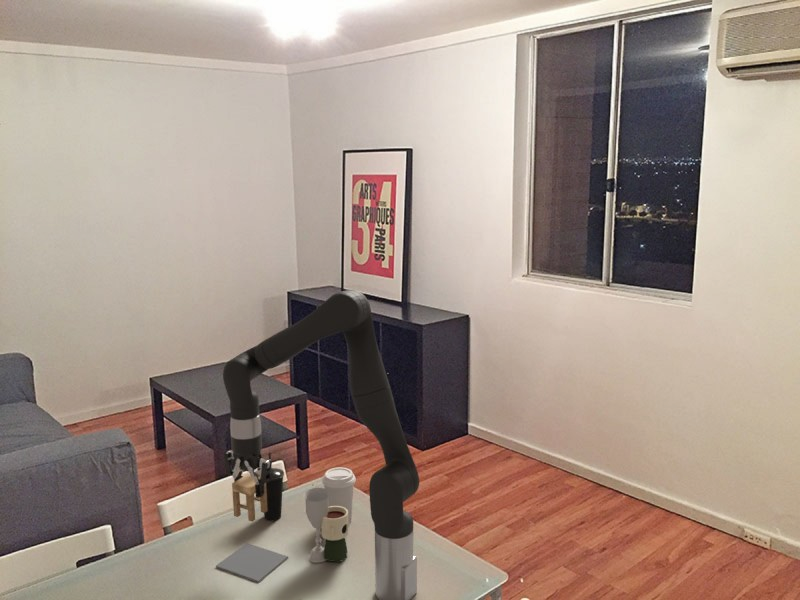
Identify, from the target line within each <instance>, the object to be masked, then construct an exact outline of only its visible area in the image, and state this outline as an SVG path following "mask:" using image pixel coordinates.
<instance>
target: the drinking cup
mask: <svg viewBox="0 0 800 600" xmlns="http://www.w3.org/2000/svg"><path fill="white" fill-rule="evenodd" d="M268 459H271V460H272V453H271V452H269V453H268ZM257 476H258V477H259V475H257ZM284 476H285V472H284V470H282V469H281V468H277V467H271V479H270V480H269V481H268V482H266V490H267V510H268V511H267V512H265V513H263V516H264V519H265V520H266V521H269V522H274V521H278V520H279V519H281V518H282V508H283V506H282V505H283V485H284V484H283V482H284Z"/></svg>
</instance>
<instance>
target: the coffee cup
mask: <svg viewBox="0 0 800 600" xmlns="http://www.w3.org/2000/svg"><path fill="white" fill-rule="evenodd" d="M356 480H357V478H356V476H355V474H354V473H353V470H352V469H349V468H347V467H331V468H329V469H328V470H326V471H325V473H324V475H323V476H322V480H321V482H322V484H323V485H324V488H325V489H327V490H328V491H329V492H330V495H329V497H328V506H329V507H330V506H341V507H344V508H346V509H347V510H348V525H350V524H351V523H352V515H353V503H354V502H353V500H354V486H355V482H356Z"/></svg>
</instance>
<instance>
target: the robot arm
mask: <svg viewBox="0 0 800 600" xmlns="http://www.w3.org/2000/svg"><path fill="white" fill-rule="evenodd" d="M340 333H343V335H344V338H345V341H346V344H347V348H348V349H347V350H348V356H349V357H348V358H349V365H348V367H349V368H348V370H349V371H348V372H349V373H348V375H349V379H348V380H349V389H350V390H349V391H350V394H351V398H352V401H353V405H354V408H355V409H354V410H355V412H356V414H357V417H358V418H359V420H360V422H362V424H363V425H364V426H365V427H366V429H368V431H369V432H370V433H372V435H373V436H374V437H375V438H376V440H377V441H378V443H379V445H380V447H381V450H382V453H383V457H384V461H385V466H383V467H381V468H379V469H378V470H377V471H375V472H374V473H373V474H372V475H371V477H370V481H369V505H370V506H369V507H370V515H371V516H370V517H371V519H372V522H373V525H374V568H375V569H374V571H375V573H374V575H375V581H374V582H375V596H376V598H377V600H411V599H412V598H413V597H414V596H415V594H417V592H418V558H417V556H416V555H414V518H413V516H412V514H411V513H409V512H408V511H406V510H404V503H405V502H406V501H407V500H408V499H410V498H412V497H413V496H414V495H415V494H416V493H417V491H418V490H419V487H420V477H419V472H418V469H417V466H416V464H415V463H416V462H415V460H414V458H413V456H412V453H411V451H410V448H409V445H408V443H407V440H406V438H405V434H404V432H403V428H402V425H401V422H400V419H399V418H400V417H399V415H398V412H397V408H396V404H395V399H394V396H393V393H392V392H393V391H392V389H391V385H390V382H389V378H388V376H387V372H386V369H385V365H384V362H383V358H382V355H381V352H380V350H379V346H378V342H377V337H376V331H375V325H374V319H373V314H372V308H371V306H370V303H369V300H368V298H367V297H366V295H364V293H362V292H361V291H359V290H356V289H346V290H343V291H338V292H335V293H334V294H332V295H331V296H329V298H327V299H326V300H324V302H323V303H322V304H320V305H319V306H318V307H317V308H315V309H314V310H313V311H312V312H311V313H309V314H308V315H306V316H305V317H303V318H302V319H300V320H299V321H297V322H296V323H295V322H294V324H292V325H289V326H288V327H286V328H284V329H282V330H281V331H278V332H276V333H275V334H273V335H271V336H270V337H268V338H265V339H264V340H263V341H261V342H260V343H258V344H257V345H255V346H253V347H251V348H249V349H247V350H245V351H243V352H241V353H239V354H238V355H236V356H235V357H233V358H231V359H230V360H228V361H227V362H226V363H225V365H224V368H223V372H222V378H223V379H222V380H223V384H224V388H225V390H226V394H227V396H228V399H229V408H230V409H229V410H230V422H229V425H230V427H229V429H230V443H231V449H230V450H227V451H226V452H224V453H223V456H224V457H223V458H224V462H225V469H226V473H227V475H228V476H230V475H231V476H232V478H233V480H234V482H235V481H237V480H239V479H241V478H242V477H244V476H243V473H244V471H246V472H248V474H250V475H251V477H253V479H254V481H255V483H256V484H255V489H256V493H255V497H257V498H260V497H261V496H263V494H264V484H265V483H266V482H268V481H269V480H270V479H271V467H272V465H273V461H272V458H271V459H269V458H268V459H265V458H263V455H262V448H263V439H262V438H263V436H262V435H263V434H262V420H261V418H260V417H261V415H260V402H259V401H260V400H259V395H258V394H257V392H256V391H254V390H252V386H251V381H253V380H255V378H257V377H258V376H260V375H262V374H263V373H265V372H267V371H269V370H270V369H274V368H277V367H278V366H281V365H282V364H283V363H286V362H288V361H289V360H291V359H293V358H294V357H296V356H298V355H299V354H301V353H302V352H303V351H305V350H306V349H308V348H309V347H310V346H311V345H313V344H315V343H316V342H318V341H320V340H323V339H325V338H328V337H330V336H334V335H336V334H340ZM272 468H273V467H272ZM257 475H259V478H260V479H259V478H258V476H257ZM234 482H233V483H234Z"/></svg>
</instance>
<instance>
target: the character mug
mask: <svg viewBox="0 0 800 600" xmlns="http://www.w3.org/2000/svg"><path fill="white" fill-rule="evenodd" d="M349 525H350V524H349ZM349 525H348V510H347V509H346V508H344V507H341V506H330V507H329V511H328V515H327V517H323V520H322V525H321V528H320V532H321V537H322V538H323V539H325V541H324V546H323V547H324V558H325V559H327V560H326V561H331V562H341V561H345V559H347V557H348V554H349V553H348V547H347V541H346V537H347V536H348V535H349V531H350V530H349Z"/></svg>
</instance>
